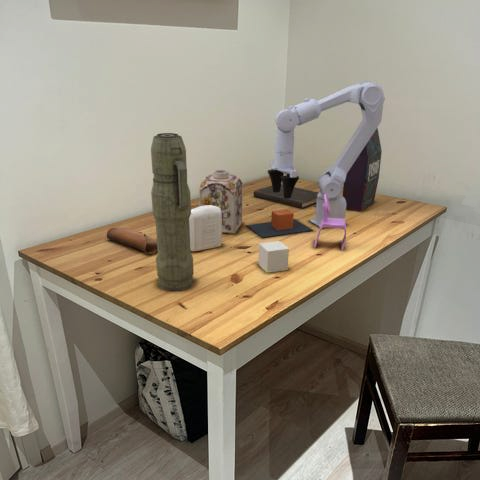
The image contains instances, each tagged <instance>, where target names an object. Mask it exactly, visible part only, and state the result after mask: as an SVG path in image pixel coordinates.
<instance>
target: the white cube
mask: <svg viewBox="0 0 480 480" xmlns="http://www.w3.org/2000/svg"><path fill="white" fill-rule="evenodd" d="M289 253H290V248H289V247H288V246H286V245H285V244H284V243H283V242H281V241H280V240H277V241H268V242H259V243H258V256H257V257H258V261H257V262H258V263H257V265H258V266H260V268H261V269H263V271H265V273H267V274H269V273H276V272H283V271H287V270H288V268H289V256H290V254H289Z"/></svg>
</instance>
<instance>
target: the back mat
mask: <svg viewBox="0 0 480 480" xmlns="http://www.w3.org/2000/svg"><path fill="white" fill-rule="evenodd" d="M246 227H247V228H248V229H249V230H250V231H252V232H253V233H255V234H256V235H257V236H258V237H260V238H262V239H265V238H267V239H268V238H274V237H279V236H287V235H294V234H300V233H301V234H302V233H308V232H313V229H312V228H311V227H309V226H307V225H305V224H304V223H302V222H300V221H299V220H297V219H295V218H293V228H291V229H284V230H276V229H275V228H273V227H272V226H271V221H267V222H260V223H253V224H246Z"/></svg>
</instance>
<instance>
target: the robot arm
mask: <svg viewBox="0 0 480 480" xmlns="http://www.w3.org/2000/svg"><path fill="white" fill-rule="evenodd" d="M381 86H382V85H381ZM381 86H380V85H379V84H378V83H375V82H371V81H368V80H366V81H362V82H360V83H356V84H355V83H354V84H352V85H349V86H347V87H345V88H343V89H340V90H338V91H336V92H333V93H332V94H329V95H328V96H325V97H323V98H321V99H319V100H318V99H315V98H310V99H309V97H307V98H304V100H303V102H300V103H298V104H296V105H292V104H291V105H289V106H288V109H281V110H280V111H278V113H277V114H276V117H275V124H276V126H277V127H276V130H275V134H276V135H275V144H274V161H270V163H269V166H270V167H269V168H270V169H268V170H267V174H268V176H269V180H270V183H271V186H272V188H273V192H274V193H275V192H280V189H281V184H282V185H283V194H284V198H285V199H287V198H291V195H292V192H293V189H294V187H296V184H297V183H298V181H299V180H300V176H299V175H298V170H297V169H295V167H294V166H293V164H294V163H293V162H294V151H295V149H294V147H295V129H296V127H297V126H301V125H304V124H306V123H309V122H311V121H314V120H316V119H318V118H319V117H320V115H321V113H322V112H324V111H327V110H330V109H333V108H335V107H337V106H340V105H343V104H345V103H352V104H358V106H359V108H360V111H361V115H362V120H361V121H360V123H359V124H358V126H357V127H356V129H355V130H354V132H353V134H352V135H351V136H350V138H349V140H348V141H347V143H346V144H345V146H344V148H343V149H342V151H341V152H340V154H339V156H338V157H337V158H336V160H335V161H334V163H333V164H332V165H331V166H330V167H328V169H327V171H326V172H325V173H323V174H321V175H320V177H319V178H318V180H317V187H318V189H319V193H318V194H317V203H316V205H315V214H314V215H315V216H314V218H311V219H309V222H311V223H312V224H314V225H316V226H318V228H320V224H321V221H322V220H323V203H325V201H324V194H327V195H328V197H329V205H330V212H329V213H330V215H328V218H336V219H345V220H346V212H347V209H346V200H345V198H344V197H343V195H341V193H342V191H343V185H344V182H345V179H346V175H347V173H348V171H349V170H350V168H351V167H352V165H353V164H354V162H355V160H356V159H357V157H358V156H359V154H360V153H361V151H362V150H363V148H364V147H365V145H366V144H367V142H368V141H369V139H370V138H371V136H372V135H373V133H374V132H375V130H376V129H377V127H379V126H380V124H381V123H382V120H383V119H382V118H383V109H384V104H385V101H386V98H385V94H384V90H383V88H382V87H381Z"/></svg>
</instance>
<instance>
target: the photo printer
mask: <svg viewBox="0 0 480 480" xmlns="http://www.w3.org/2000/svg"><path fill="white" fill-rule="evenodd" d="M189 226H190V251H191V252H199V251H205V250H209V249H214V248H219V247H221V246H222V245H223V237H222V236H223V233H222V213H221V209H220V208H219V207H217V206H213V205H205V206H200V205H199V206H197V207H195V208H191V215H190V218H189Z"/></svg>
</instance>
